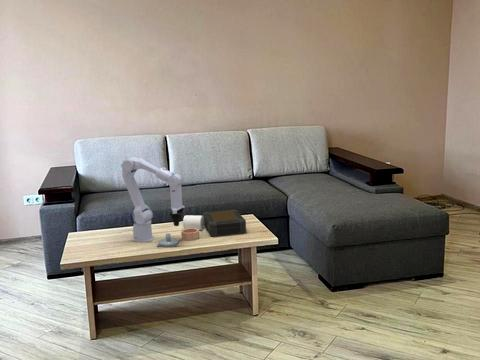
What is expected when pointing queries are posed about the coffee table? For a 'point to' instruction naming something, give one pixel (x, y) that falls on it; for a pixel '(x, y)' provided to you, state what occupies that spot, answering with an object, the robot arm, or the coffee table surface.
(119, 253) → the coffee table surface
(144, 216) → the robot arm
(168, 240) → the lid
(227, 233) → the cash box
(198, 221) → the mug
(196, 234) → the bowl
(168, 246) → the mat
